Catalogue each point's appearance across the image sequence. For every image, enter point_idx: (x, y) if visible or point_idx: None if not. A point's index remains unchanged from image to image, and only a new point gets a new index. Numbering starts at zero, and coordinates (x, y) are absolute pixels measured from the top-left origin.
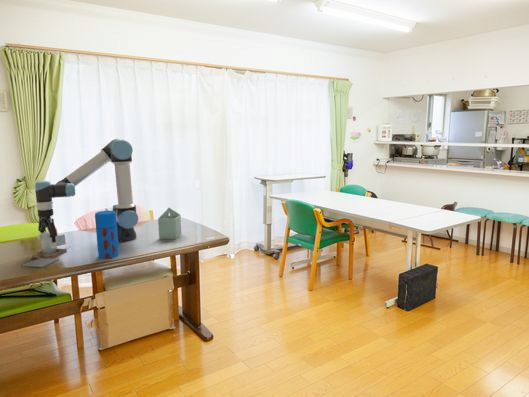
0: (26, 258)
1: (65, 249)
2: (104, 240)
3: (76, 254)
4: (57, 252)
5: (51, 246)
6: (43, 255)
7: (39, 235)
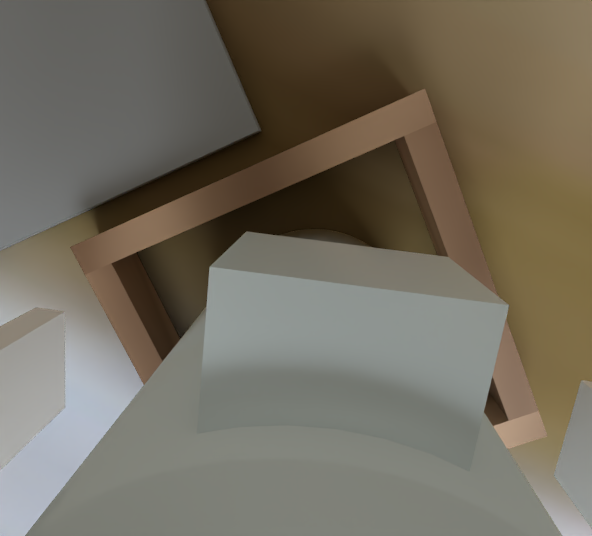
0: (481, 17)
1: None
2: None
3: (36, 506)
4: None
5: (2, 325)
6: (212, 183)
7: (333, 338)
